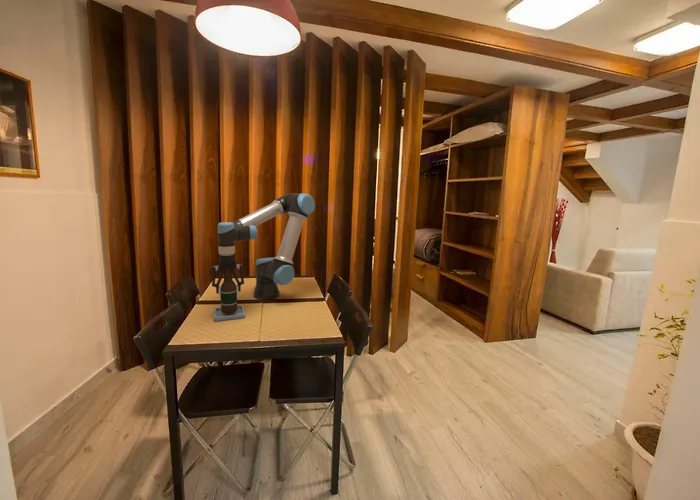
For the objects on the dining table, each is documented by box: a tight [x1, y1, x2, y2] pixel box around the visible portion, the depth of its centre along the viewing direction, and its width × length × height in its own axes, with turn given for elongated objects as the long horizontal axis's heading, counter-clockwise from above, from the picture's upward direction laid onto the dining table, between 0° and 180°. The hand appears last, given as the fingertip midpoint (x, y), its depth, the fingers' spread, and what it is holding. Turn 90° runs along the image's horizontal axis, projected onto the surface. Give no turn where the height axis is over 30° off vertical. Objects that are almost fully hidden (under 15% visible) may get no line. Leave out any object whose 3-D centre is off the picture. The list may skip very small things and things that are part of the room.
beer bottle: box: [220, 266, 238, 314], centre depth 156 cm, size 8×8×24 cm
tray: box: [213, 304, 246, 323], centre depth 158 cm, size 14×14×2 cm
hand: (228, 298), depth 157 cm, fingers closed on beer bottle, 8 cm apart
